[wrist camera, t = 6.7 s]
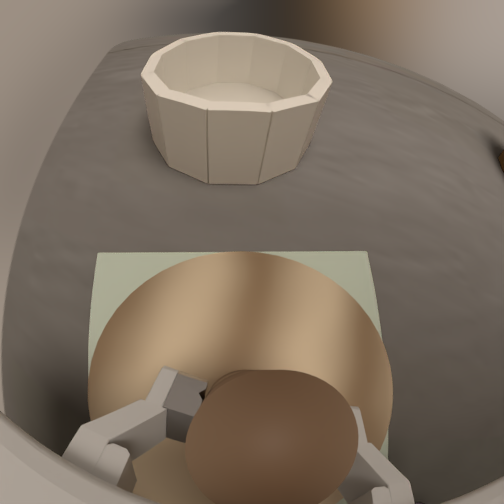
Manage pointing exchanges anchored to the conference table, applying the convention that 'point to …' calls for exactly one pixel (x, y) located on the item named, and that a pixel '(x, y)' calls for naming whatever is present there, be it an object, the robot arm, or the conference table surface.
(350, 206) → the conference table surface
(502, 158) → the flowerpot
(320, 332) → the lid
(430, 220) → the conference table surface
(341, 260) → the mat
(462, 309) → the conference table surface
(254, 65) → the bowl
